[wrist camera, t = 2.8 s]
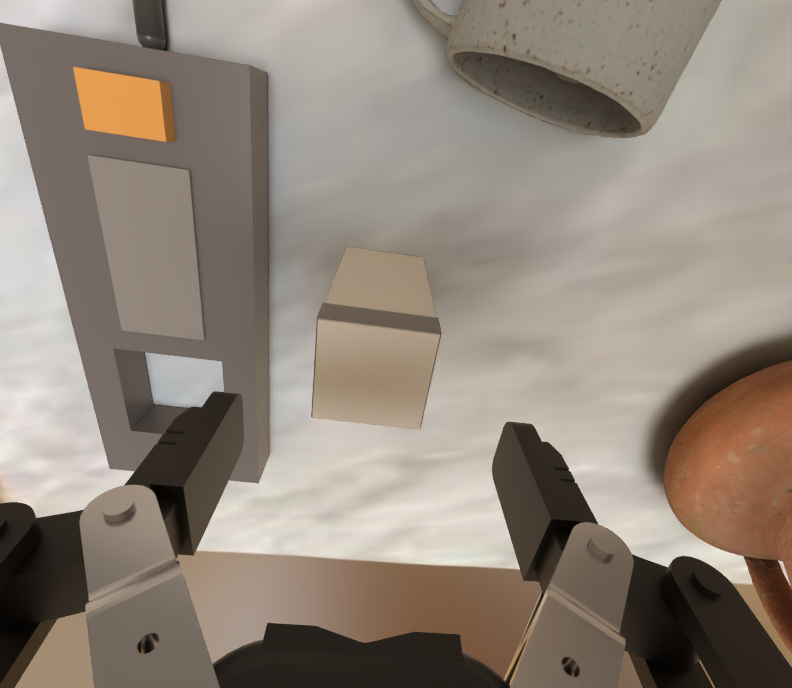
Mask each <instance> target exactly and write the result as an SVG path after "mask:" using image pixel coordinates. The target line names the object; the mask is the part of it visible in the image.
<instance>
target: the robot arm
mask: <svg viewBox="0 0 792 688" xmlns="http://www.w3.org/2000/svg"><path fill="white" fill-rule="evenodd" d="M243 443H244V421H243V401H242V396H241V394H235V393H225V392H213V393H212V394H211V395H210V396H209V398H208V399H207V401H206V402H205V404H204V405H203V407H202V408H199V407H191V408H189V409H188V410H186V411H185V412H183V413H182V414H180V415H179V416H177V417H176V418H175V419H174V420H173V422H172V423H171V424H170V426H169V427H168V428H167V430H166V433H164V434H163V435H162V436H161V438H160V439H159V440H158V443H157V444H155V446H154V447H153V448H152V450H151V451H150V452H149V454H148V455H147V456H146V458H145V459H144V460H143V461H142V463H141V464H140V465H139V467H138V468H137V469H136V471H135V472H134V473H133V475H132V476H131V477H130V479H129V480H128V481H127V483H126V484H125V485H124V486H120V487H117V488H114V489H111V490H109V491H107V492H105V493H103V494H101V495H99V496H98V497H96V498H95V499H94V500H92V501H91V502H90V503H89V504H88V505H87V506H86V508H85V509H84V510H80V511H76V512H70V513H64V514H58V515H52V516H47V517H41V518H36V516H35V513H34V511H33V509H32V508H31V507H30V506H28V505H26V504H23V503H17V502H10V503H2V504H0V688H15V686H16V684H17V683H18V681H19V680H20V678H21V676H22V674H23V673H24V671H25V670H26V668H27V667H28V665H29V664H30V662H31V660H32V659H33V657H34V656H35V654H36V652H37V651H38V649H39V647H40V646H41V644H42V643H43V641H44V639H45V638H46V636H47V635H48V633H49V631H50V630H51V628H52V627H53V625H54V623H55V622H56V620H57V619H58V618H61V617H65V616H69V615H73V614H77V613H81V612H85V611H86V620H87V629H88V638H89V646H90V655H91V663H92V671H93V680H94V688H617V687H618V682H619V676H620V671H621V666H622V660H623V656H624V651H627V652H628V653H629V655H630V657H631V660H632V662H633V665H634V667H635V670H636V672H637V675H638V677H639V679H640V682H641V684H642V687H643V688H713V687H712V685H711V683H710V681H709V679H708V677H707V675H706V674H705V672H704V670H703V668H702V666H701V664H700V662H699V660H701V662H702V664H703V665H704V667H705V669H706V671H707V673H708V675H709V677H710V678H711V680H712V682H713V684H714V686H715V688H792V667H791V666H790V665H789V663H788V662H787V660H786V659H785V658H784V656H783V655H782V653H781V652H780V650H779V649H778V648H777V646H776V645H775V644H774V642H773V641H772V639H771V638H770V636H769V635H768V633H767V632H766V631H765V629H764V628H763V626H762V625H761V624H760V622H759V621H758V619H757V618H756V616H755V615H754V614H753V612H752V611H751V609H750V608H749V607H748V605H747V604H746V602H745V601H744V599H743V598H742V597H741V595H740V594H739V592H738V591H737V590H736V588H735V587H734V586H733V584H732V583H731V582H730V581H729V580H728V579H727V578H726V577H725V576H724V575H723V574H722V573H720V572H719V571H718V570H716V569H715V568H713V567H712V566H710V565H709V564H707V563H705V562H703V561H701V560H698V559H696V558H693V557H688V556H680V557H677V558H675V559H674V560H673V561H672V562H671V564H670V565H669V567H665V566H662V565H659V564H657V563H654V562H651V561H648V560H645V559H643V558H640V557H637V556H635V555H632V554H631V552H630V550H629V548H628V547H627V545H626V544H625V543H624V542H623V540H622V539H621V538H620V537H618V536H617V535H616V534H615V533H613V532H612V531H610V530H609V529H607V528H605V527H603V526H601V525H599V524H598V523H597V521H596V519H595V517H594V515H593V513H592V511H591V510H590V508H589V506H588V504H587V502H586V500H585V498H584V496H583V495H582V493H581V491H580V489H579V487H578V485H577V483H575V480H574V478H573V476H572V474H571V472H570V471H569V468H568V466H567V465H566V463H565V461H564V459H563V457H562V455H561V454H560V453H559V452H558V451H557V450H556V449H555V448H554V447H553V446H552V445H551V444H550V443H549V442H542V441H541V439H540V437H539V435H538V433H537V431H536V429H535V427H534V426H533V425H532V424H526V423H516V422H506V424H505V425H504V428H503V431H502V434H501V437H500V440H499V443H498V446H497V449H496V453H495V456H494V459H493V465H492V474H493V480H494V483H495V487H496V490H497V493H498V497H499V500H500V504H501V507H502V510H503V514H504V517H505V520H506V524H507V527H508V530H509V534H510V537H511V540H512V544H513V547H514V550H515V554H516V557H517V560H518V564H519V567H520V570H521V574H522V577H523V580H524V581H537V582H539V583H540V586H541V589H542V592H541V594H540V596H539V599H538V601H537V603H536V606H535V608H534V610H533V613H532V616H531V617H530V620H529V623H528V625H527V627H526V629H525V632H524V634H523V637H522V639H521V641H520V644H519V646H518V649H517V651H516V654H515V655H514V658H513V660H512V662H511V664H510V667H509V669H508V671H507V673H506V676H505V678H504V679H503V678H502V677H501V676H500V675H498V674H497V673H496V672H495V671H494V670H493V669H491V668H490V667H489V666H487V665H486V664H484V663H483V662H482V661H480V660H479V659H477V658H475V657H473V656H471V655H468V654H467V653H464V652H462V648H461V641H460V635H456V634H440V633H423V632H412V633H407V634H403V635H399V636H394V637H391V638H386V639H382V640H378V641H374V642H369V643H362V642H358V641H356V640H353V639H350V638H348V637H345V636H342V635H339V634H336V633H334V632H331V631H328V630H326V629H323V628H320V627H317V626H308V625H292V624H291V625H290V624H275V623H268V624H267V627H266V631H265V635H264V639H263V640H260V641H255V642H252V643H250V644H247V645H244V646H242V647H240V648H238V649H236V650H234V651H232V652H230V653H228V654H226V655H225V656H223V657H222V658H220V659H219V660H217V661H216V662H215V663H214V664H212V662H211V658H210V655H209V652H208V649H207V646H206V643H205V640H204V637H203V634H202V631H201V628H200V625H199V621H198V618H197V615H196V612H195V609H194V606H193V603H192V600H191V596H190V593H189V590H188V587H187V584H186V581H185V578H184V575H183V572H182V569H181V566H180V563H179V561H176V558H177V556H178V554H180V555H194V554H195V551H196V549H197V547H198V545H199V543H200V541H201V539H202V536H203V534H204V532H205V530H206V528H207V526H208V524H209V521H210V519H211V517H212V515H213V513H214V511H215V509H216V506H217V504H218V502H219V500H220V498H221V496H222V494H223V491H224V489H225V487H226V485H227V483H228V481H229V478H230V476H231V474H232V472H233V470H234V468H235V466H236V463H237V461H238V459H239V457H240V455H241V452H242V448H243Z"/></svg>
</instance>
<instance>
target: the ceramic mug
mask: <svg viewBox="0 0 792 688" xmlns="http://www.w3.org/2000/svg"><path fill="white" fill-rule="evenodd" d="M412 1H413V2H414V4H415V5H416V7H417V8H418V10H419V11H420V13H421V14H422V16H423V17H424V18H425V19H426V20H427V21H428V22H429V23H430V24H431V25H432V26H433V27H434V28H436V29H437V30H438V31H439V32H440V33H442V34H443V35H444V36H445V37H447V38H449V40H448V43H447V46H446V56H447V59H448V61H449V63H450V65H451V67H452V68H453V69H454V70H455V71H456V72H458V73H459V74H460V75H461V76H462V77H463V78H464V79H465V80H467V81H469V82H470V83H471V84H472V85H474V86H475V87H477V88H478V89H480V90H481V91H482V92H484V93H486V94H489V95H491V96H493V97H495V98H497V99H498V100H500V101H501V102H503V103H505V104H506V105H508V106H511V107H513V108H515V109H517V110H520V111H522V112H524V113H527V114H529V115H530V116H532V117H536V118H539V119H541V120H543V121H546V122H549V123H553V124H556V125H558V126H561V127H564V128H567V129H571V130H574V131H578V132H581V133H584V134H590V135H597V136H601V137H612V138H631V137H636V136H640V135H643V134H646V133H647V132H648V131H649V130H650V129H651V128H652V126H653V125H654V124H655V123H656V121H657V120H658V118H659V117H660V115H661V113H662V111H663V109H664V107H665V105H666V103H667V101H668V99H669V97H670V95H671V94H672V92H673V90H674V88H675V86H676V84H677V82H678V80H679V78H680V76H681V74H682V72H683V71H684V69H685V67H686V65H687V63H688V62H689V60H690V58H691V56H692V54H693V52H694V50H695V48H696V47H697V45H698V43H699V41H700V39H701V37H702V35H703V34H704V32H705V30H706V28H707V26H708V24H709V22H710V20H711V19H712V17H713V15H714V13H715V12H716V10H717V8H718V6H719V4H720V2H721V0H464V2H463V5H462V7H461V10H460V12H459V15H457V16H450V15H447V14H445V13H443V12H442V11H440V10H439V9H438V7H437V6H436V5H435V4H433V3H432V1H431V0H412Z"/></svg>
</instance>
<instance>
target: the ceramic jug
mask: <svg viewBox="0 0 792 688" xmlns="http://www.w3.org/2000/svg"><path fill="white" fill-rule="evenodd" d="M664 487H665V492H666V496H667V499H668V502H669V505H670V507H671V509H672V511H673V512H674V514H675V516H676V517H677V519H678V520H679V521H680V522H681V523H682V525H683V526H684V527H685V528H686V529H688V530H689V531H690V532H691V533H693V534H694V535H695V536H697V537H698V538H700V539H701V540H703V541H704V542H706V543H708V544H710V545H712V546H714V547H716V548H719V549H721V550H724V551H727V552H730V553H733V554H737V555H742V556H744V559H745V561H746V564H747V566H748V570H749V573H750V575H751V578H752V583H753V585H754V587H755V588H756V591H757V593H758V595H759V598H760V600H761V602H762V604H763V606H764V609H765V610H766V612H767V614H768V616H769V618H770V620H771V622H772V624H773V626H774V627H775V629H776V630H777V632H778V634H779V636H780V637H781V639H782V640H783V642H784V644H785V645H786V646H787V648H788V649H789V650H790V652H791V653H792V589H791V587H792V360H791V361H786V362H783V363H779V364H776V365H773V366H770V367H767V368H765V369H762V370H760V371H757V372H755V373H753V374H751V375H748V376H746V377H744V378H742V379H740V380H738V381H736V382H735V383H733V384H731V385H730V386H728V387H726V388H725V389H723V390H722V391H720V392H719V393H717V394H716V395H714V396H713V397H711V398H710V399H709V400H708V401H706V402H705V403H704V404H703V405H702V406H701V407H700V408H699V409H698V410H697V411H696V412H695V413H694V414H693V415H692V416H691V417H690V418H689V419H688V420H687V421H686V423H685V424H684V425H683V427H682V428H681V429H680V431H679V432H678V434H677V436H676V437H675V439H674V441H673V443H672V445H671V447H670V449H669V452H668V455H667V458H666V463H665V468H664ZM778 560H780V561H783V563H784V566H785V569H786V572H787V575H788V579H789V582H790V584H791V587H790V585H789V583H788V581H787V579H786V578H785V576H784V574H783V572H782V569H781V567H780V564H779V562H778Z"/></svg>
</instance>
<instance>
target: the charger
mask: <svg viewBox="0 0 792 688" xmlns="http://www.w3.org/2000/svg"><path fill="white" fill-rule="evenodd" d="M440 338H441V328H440V324H439V320H438V318H436V315H435V310H434V306H433V301H432V297H431V292H430V288H429V283H428V278H427V274H426V269H425V265H424V260H423V257H416V256H409V255H402V254H395V253H388V252H381V251H373V250H366V249H359V248H352V247H347V248H346V250H345V253H344V255H343V258H342V260H341V263H340V265H339V268H338V270H337V273H336V275H335V278H334V281H333V283H332V286H331V288H330V291H329V293H328V296H327V298H326V301H325V303H323V304H322V306H321V309H320V311H319V314H318V316H317V328H316V345H315V362H314V380H313V397H312V414H311V417H312V418H320V419H329V420H338V421H347V422H356V423H365V424H374V425H383V426H392V427H401V428H411V429H420V428H421V423H422V419H423V414H424V410H425V405H426V401H427V396H428V392H429V387H430V383H431V378H432V374H433V369H434V365H435V360H436V356H437V351H438V347H439V342H440Z"/></svg>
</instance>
